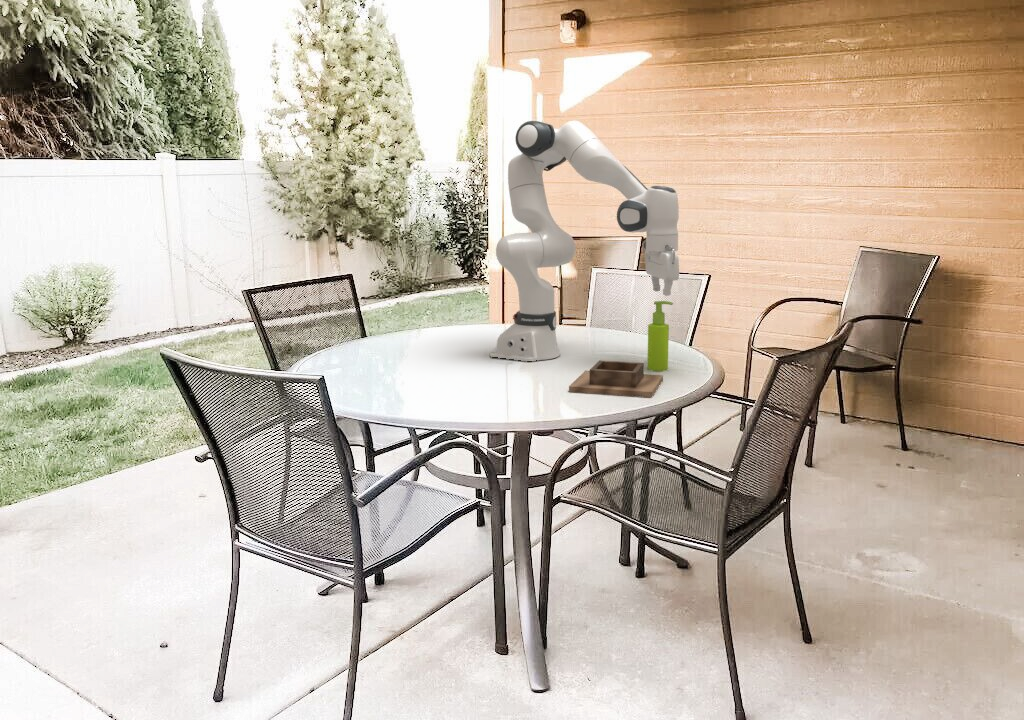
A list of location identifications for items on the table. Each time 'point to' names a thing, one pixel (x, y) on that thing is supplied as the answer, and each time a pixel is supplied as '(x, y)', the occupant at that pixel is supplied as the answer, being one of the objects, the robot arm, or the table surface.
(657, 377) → the caddy
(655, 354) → the soap dispenser
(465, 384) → the table surface
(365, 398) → the table surface
